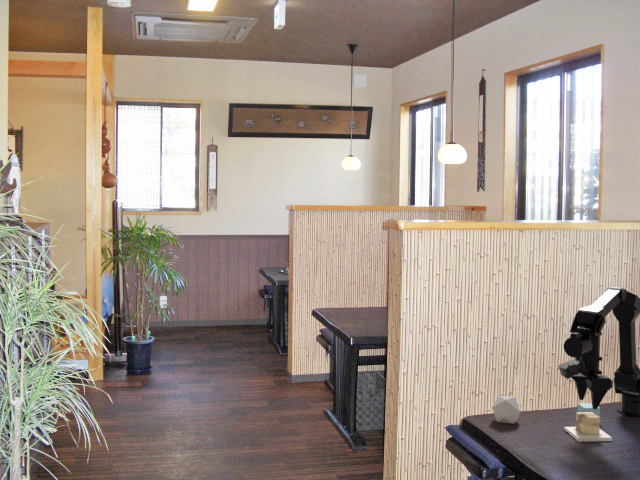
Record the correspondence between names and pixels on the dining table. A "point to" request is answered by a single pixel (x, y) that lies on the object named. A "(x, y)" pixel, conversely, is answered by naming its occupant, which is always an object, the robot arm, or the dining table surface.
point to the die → (506, 409)
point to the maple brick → (587, 423)
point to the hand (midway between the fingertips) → (587, 404)
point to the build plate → (587, 435)
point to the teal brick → (588, 408)
